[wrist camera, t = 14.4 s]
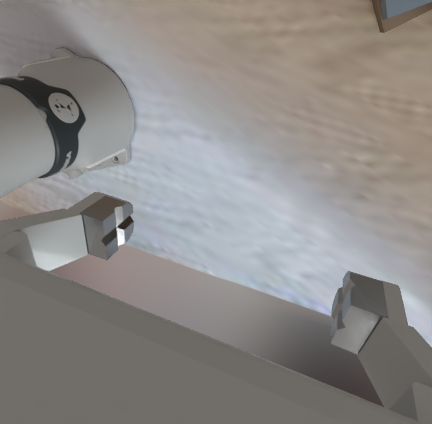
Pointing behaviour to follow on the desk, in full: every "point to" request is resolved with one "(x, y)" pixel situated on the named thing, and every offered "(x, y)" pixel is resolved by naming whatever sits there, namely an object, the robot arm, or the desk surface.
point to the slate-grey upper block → (399, 6)
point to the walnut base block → (398, 16)
